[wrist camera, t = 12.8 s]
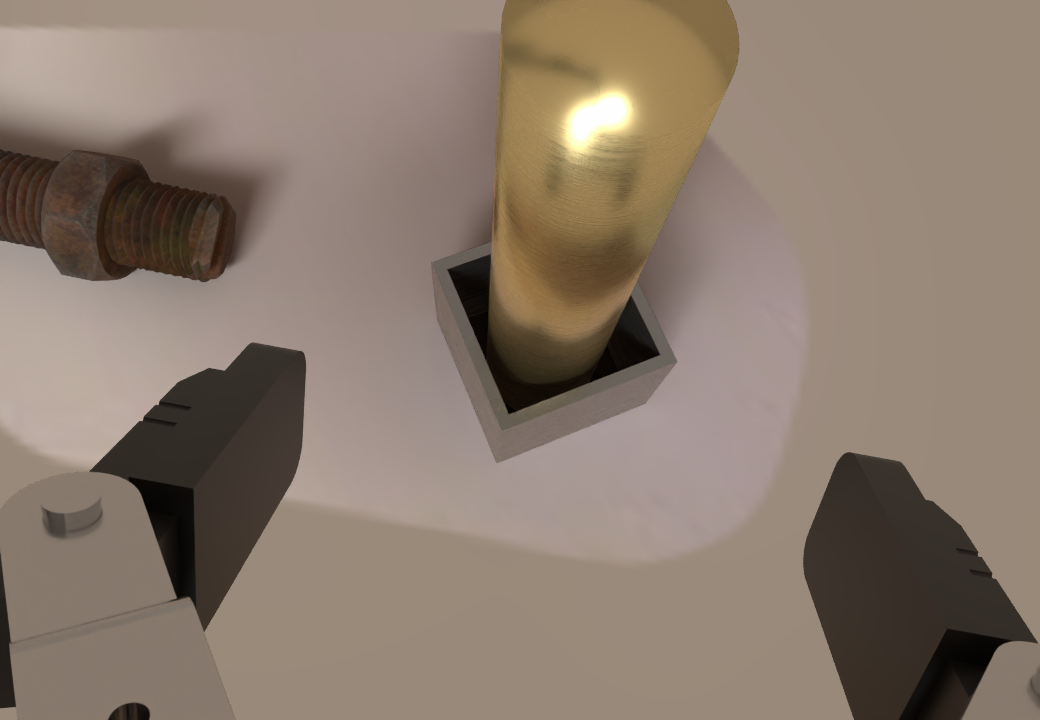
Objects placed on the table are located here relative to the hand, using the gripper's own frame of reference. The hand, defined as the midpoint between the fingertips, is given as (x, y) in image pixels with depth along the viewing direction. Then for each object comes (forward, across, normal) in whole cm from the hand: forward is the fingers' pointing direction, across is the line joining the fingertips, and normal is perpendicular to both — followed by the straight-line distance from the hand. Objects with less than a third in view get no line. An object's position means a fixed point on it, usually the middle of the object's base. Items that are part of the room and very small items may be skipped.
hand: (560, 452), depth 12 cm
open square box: (+17, 0, +7) cm, 19 cm away
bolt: (+19, +20, +6) cm, 28 cm away
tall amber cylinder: (+17, 0, +7) cm, 19 cm away
